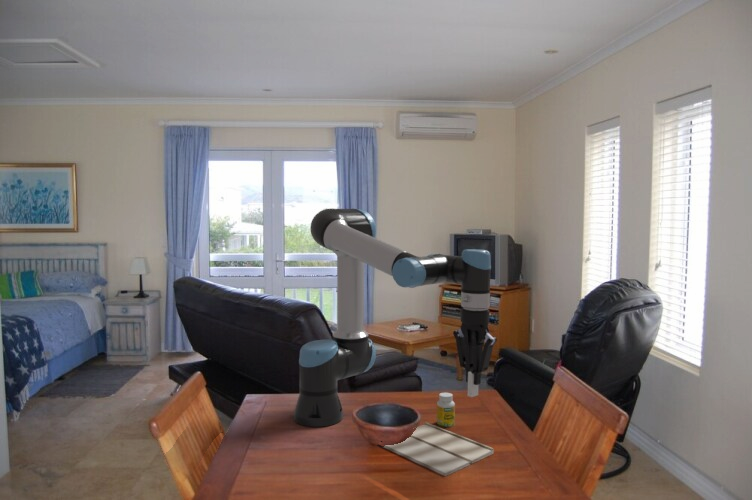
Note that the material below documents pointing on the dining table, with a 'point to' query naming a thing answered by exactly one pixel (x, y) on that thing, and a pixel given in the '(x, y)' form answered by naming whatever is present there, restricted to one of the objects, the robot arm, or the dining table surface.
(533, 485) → the dining table surface
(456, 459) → the laid board
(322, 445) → the dining table surface
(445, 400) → the supplement bottle
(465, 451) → the plank
